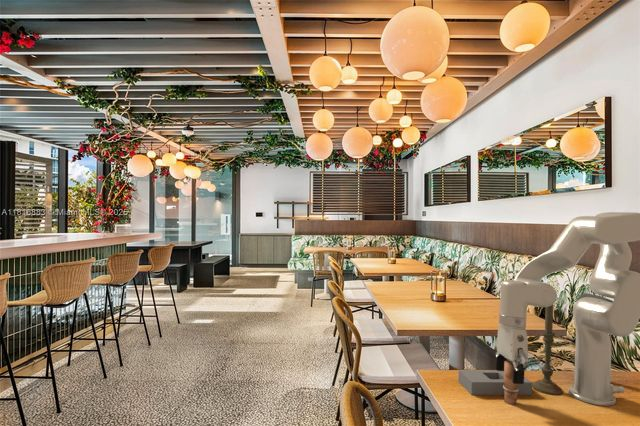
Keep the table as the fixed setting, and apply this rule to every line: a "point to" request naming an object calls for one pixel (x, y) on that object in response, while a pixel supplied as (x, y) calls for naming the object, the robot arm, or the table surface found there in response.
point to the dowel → (509, 384)
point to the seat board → (489, 382)
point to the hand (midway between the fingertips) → (509, 376)
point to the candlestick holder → (547, 359)
